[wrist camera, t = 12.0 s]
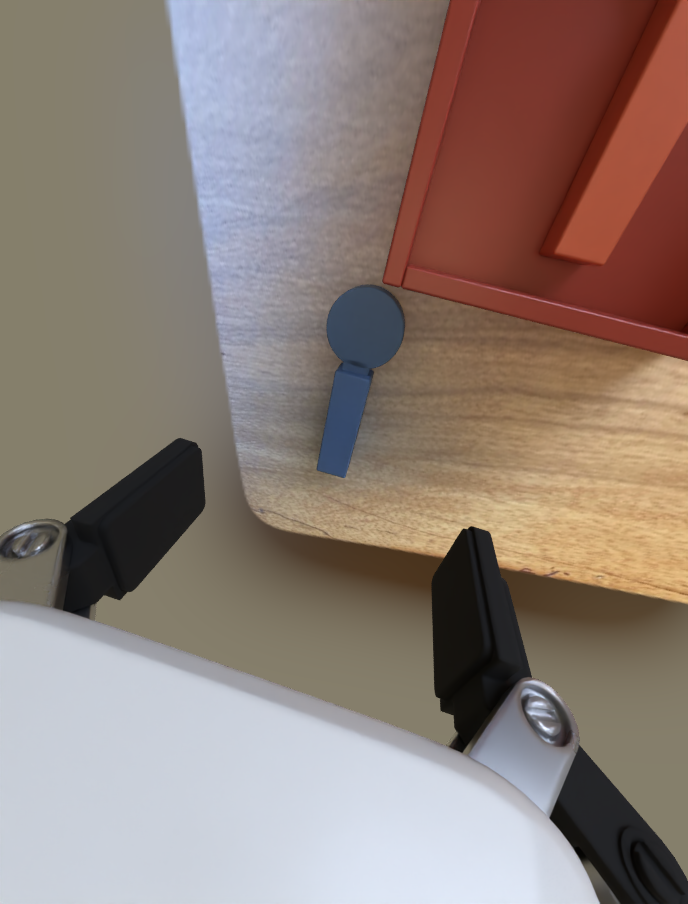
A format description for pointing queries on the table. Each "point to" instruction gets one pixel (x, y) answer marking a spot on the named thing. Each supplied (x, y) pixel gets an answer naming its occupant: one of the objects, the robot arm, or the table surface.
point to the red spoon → (627, 143)
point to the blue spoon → (356, 365)
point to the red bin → (537, 175)
